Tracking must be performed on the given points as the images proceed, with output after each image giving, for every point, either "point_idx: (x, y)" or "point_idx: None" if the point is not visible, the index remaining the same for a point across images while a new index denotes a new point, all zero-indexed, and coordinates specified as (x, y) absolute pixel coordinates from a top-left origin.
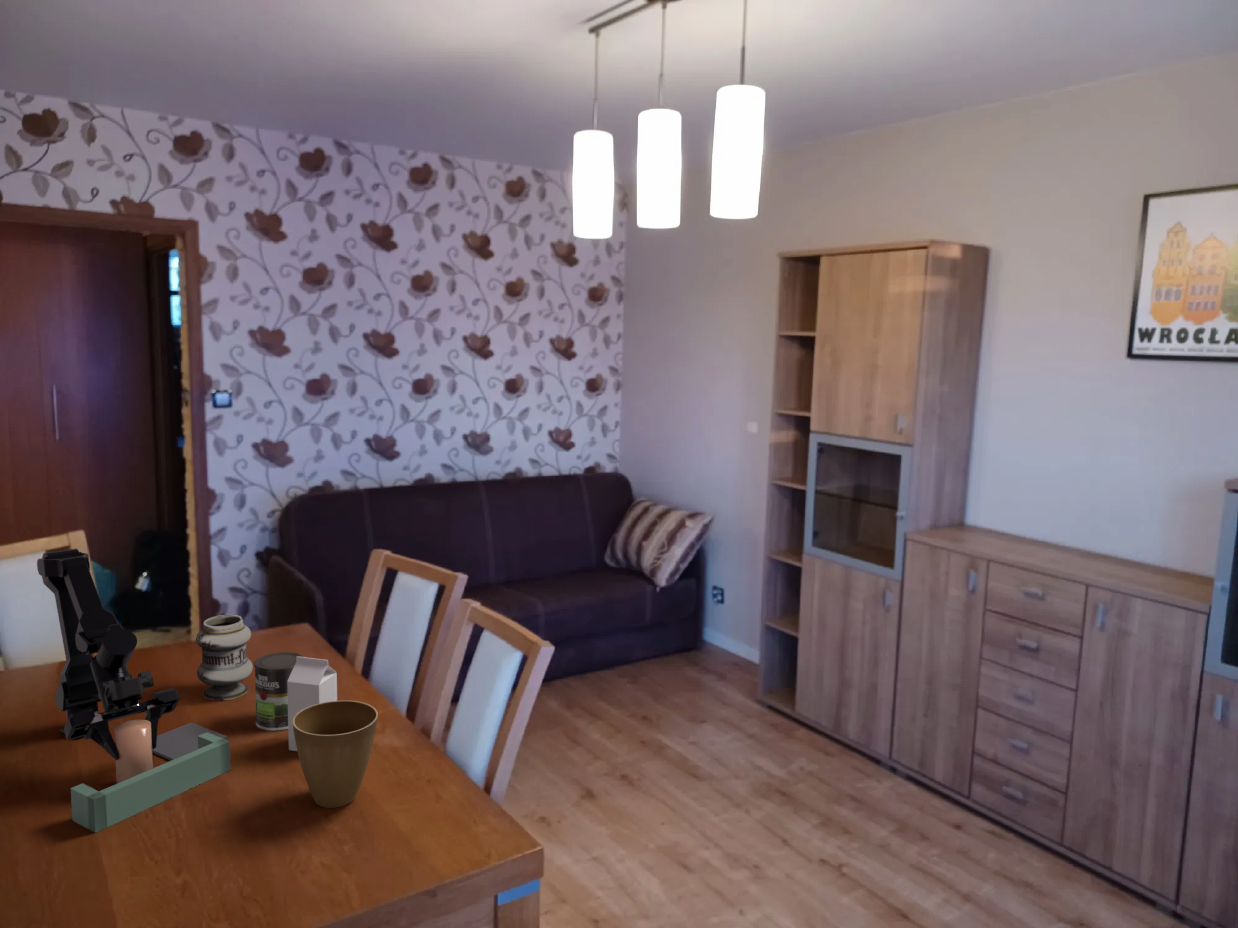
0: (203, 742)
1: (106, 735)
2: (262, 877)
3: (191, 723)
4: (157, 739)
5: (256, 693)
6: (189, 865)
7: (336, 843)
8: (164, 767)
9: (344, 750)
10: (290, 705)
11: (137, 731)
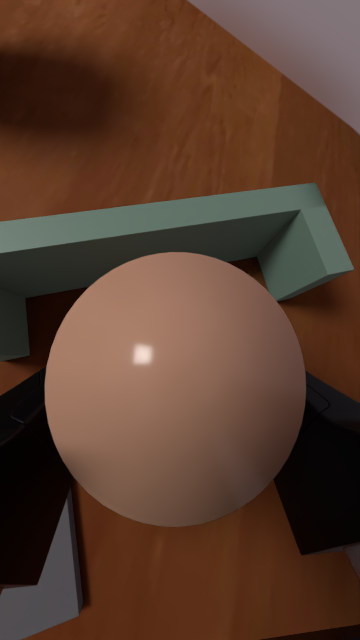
0: None
1: (326, 396)
2: (142, 26)
3: None
4: (20, 606)
5: None
6: (193, 91)
7: (39, 13)
8: (139, 213)
9: None
10: None
11: (186, 258)
